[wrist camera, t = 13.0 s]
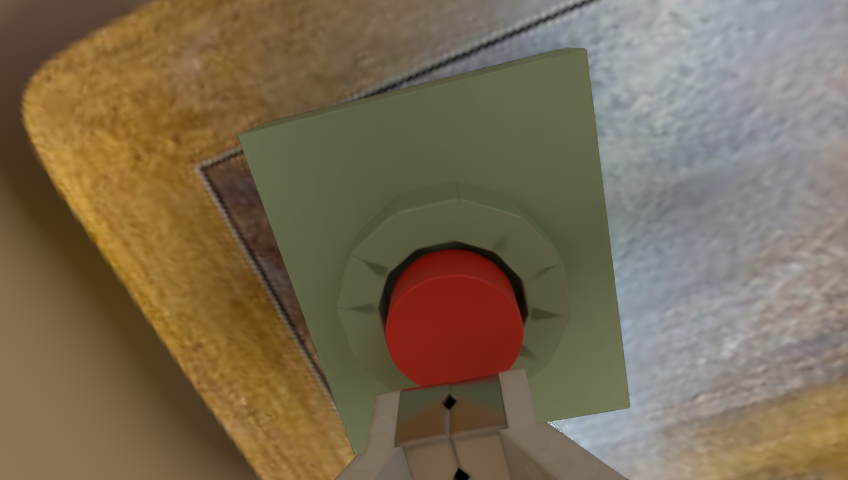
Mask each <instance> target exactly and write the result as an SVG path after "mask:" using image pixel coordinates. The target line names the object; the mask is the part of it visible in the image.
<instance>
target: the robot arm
mask: <svg viewBox="0 0 848 480" xmlns="http://www.w3.org/2000/svg"><path fill="white" fill-rule="evenodd" d="M334 480H628V479H626V478H625V477H623V476H622V475H621V474H619V473H618V472H616V471H615V470H614V469H612V468H611V467H609V466H608V465H606V464H605V463H604V462H602V461H601V460H599V459H598V458H597V457H595V456H594V455H592V454H591V453H589V452H588V451H587V450H585V449H584V448H582V447H581V446H580V445H578V444H577V443H575V442H574V441H573V440H571V439H570V438H568V437H567V436H565V435H564V434H563V433H561V432H560V431H558V430H557V429H556V428H554V427H553V426H551V425H550V424H548V423H547V422H543V423H538V419H537V415H536V411H535V407H534V403H533V399H532V395H531V391H530V388H529V384H528V380H527V376H526V372H525V369H524V368H523V367H520V368H516V369H511V370H506V371H502V372H499V375H498V373H496V374H491V375H486V376H480V377H475V378H470V379H465V380H459V381H454V382H446V383H439V384H433V385H427V386H421V387H414V388H408V389H402V390H397V391H391V392H385V393H380V394H378V395H377V396H376V398H375V401H374V407H373V412H372V418H371V423H370V429H369V434H368V440H367V445H366V451H365V453H361V454H358V455H357V456H356V457H355V458H354V459H353V460H352V461H351V462H350V463H349V464H348V465H347V466H346V468H345V469H344V470H343V471H342V472H341V473H340V474H339V475H338V476H337V477H336V478H335V479H334Z"/></svg>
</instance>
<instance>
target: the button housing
mask: <svg viewBox="0 0 848 480" xmlns="http://www.w3.org/2000/svg"><path fill="white" fill-rule="evenodd" d="M238 139H239V141H240V144H241V147H242V149H243V152H244V155H245V158H246V160H247V163H248V166H249V169H250V171H251V174H252V177H253V179H254V182H255V185H256V188H257V190H258V193H259V196H260V199H261V201H262V204H263V207H264V210H265V212H266V215H267V218H268V220H269V223H270V226H271V229H272V231H273V234H274V237H275V240H276V242H277V245H278V248H279V250H280V253H281V256H282V259H283V261H284V264H285V267H286V270H287V272H288V275H289V278H290V281H291V283H292V286H293V289H294V291H295V294H296V297H297V300H298V302H299V305H300V308H301V311H302V313H303V316H304V319H305V321H306V324H307V327H308V330H309V332H310V335H311V338H312V341H313V343H314V346H315V349H316V352H317V354H318V357H319V360H320V362H321V365H322V368H323V371H324V373H325V376H326V379H327V382H328V384H329V387H330V390H331V392H332V395H333V398H334V401H335V403H336V406H337V409H338V412H339V414H340V417H341V420H342V423H343V425H344V428H345V431H346V433H347V436H348V439H349V442H350V444H351V447H352V450H353V453H354V454H355V455H356V454H361V453H365V451H366V445H367V440H368V434H369V429H370V423H371V418H372V412H373V407H374V401H375V398H376V396H377V395H378V394H380V393H385V392H391V391H397V390H402V389H408V388H414V387H421V386H420V385H418V384H416V383H414V382H413V381H411V380H410V379H409V378H407V377H406V376H405V375H404V374H403V373H402V372H401V371H400V370H399V369H398V367H397V366H396V365H395V363H394V362H393V360H392V358H391V356H390V354H389V351H388V349H387V344H386V338H385V328H386V321H387V316H388V311H389V306H390V301H391V296H392V291H393V288H394V286H395V283H396V281H397V280H398V278H399V276H400V275H401V274H402V272H403V271H404V270H405V269H406V268H407V267H408V266H409V265H410V264H411V263H413V262H414V261H415V260H417V259H419V258H420V257H422V256H424V255H427V254H429V253H432V252H436V251H440V250H447V249H459V250H466V251H471V252H474V253H477V254H480V255H482V256H484V257H486V258H488V259H489V260H491V261H492V262H494V263H495V264H496V265H497V266H498V267H500V268H501V270H502V271H503V272H504V273H505V274H506V276H507V278H508V279H509V281H510V283H511V285H512V287H513V291H514V294H515V298H516V301H517V304H518V308H519V311H520V315H521V318H522V322H523V329H524V336H523V343H522V348H521V351H520V353H519V356H518V357H517V359H516V361H515V363H514V364H513V366H512V367H511V368H510V370H511V369H516V368H520V367H523V368H524V369H525V372H526V376H527V380H528V384H529V388H530V391H531V395H532V399H533V403H534V407H535V411H536V415H537V419H538V423H543V422H550V421H556V420H562V419H567V418H573V417H579V416H585V415H591V414H597V413H603V412H609V411H615V410H620V409H626V408H630V400H629V392H628V384H627V376H626V368H625V359H624V351H623V343H622V335H621V327H620V319H619V311H618V302H617V294H616V286H615V278H614V270H613V262H612V254H611V245H610V237H609V229H608V221H607V213H606V205H605V197H604V188H603V180H602V172H601V164H600V156H599V148H598V140H597V131H596V123H595V115H594V107H593V99H592V91H591V82H590V74H589V66H588V58H587V50H586V49H585V48H562V49H558V50H554V51H550V52H546V53H542V54H538V55H534V56H530V57H526V58H522V59H518V60H514V61H510V62H506V63H502V64H498V65H494V66H490V67H487V68H483V69H479V70H475V71H471V72H467V73H463V74H459V75H455V76H451V77H447V78H443V79H439V80H435V81H431V82H427V83H423V84H419V85H415V86H411V87H407V88H403V89H399V90H395V91H391V92H387V93H383V94H379V95H375V96H371V97H367V98H363V99H359V100H355V101H351V102H347V103H343V104H339V105H335V106H331V107H327V108H323V109H319V110H315V111H311V112H307V113H303V114H299V115H295V116H291V117H287V118H283V119H279V120H275V121H271V122H267V123H263V124H260V125H258V126H256V127H254V128H251V129H249V130H247V131H245V132H243V133H240V134H239V135H238Z"/></svg>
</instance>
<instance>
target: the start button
mask: <svg viewBox="0 0 848 480" xmlns="http://www.w3.org/2000/svg"><path fill="white" fill-rule="evenodd" d="M523 336H524V329H523V322H522V318H521V315H520V311H519V308H518V304H517V301H516V298H515V294H514V291H513V287H512V285H511V283H510V281H509V279H508V278H507V276H506V274H505V273H504V272H503V271H502V270H501V268H500V267H498V266H497V265H496V264H495V263H494V262H492V261H491V260H489V259H488V258H486V257H484V256H482V255H480V254H477V253H474V252H471V251H466V250H459V249H447V250H440V251H436V252H432V253H429V254H427V255H424V256H422V257H420V258H419V259H417V260H415V261H414V262H413V263H411V264H410V265H409V266H408V267H407V268H406V269H405V270H404V271H403V272H402V274H401V275H400V276H399V278H398V280H397V281H396V283H395V286H394V288H393V291H392V296H391V301H390V306H389V311H388V316H387V321H386V328H385V338H386V344H387V349H388V351H389V354H390V356H391V358H392V360H393V362H394V363H395V365H396V366H397V367H398V369H399V370H400V371H401V372H402V373H403V374H404V375H405V376H406V377H407V378H409V379H410V380H411V381H413V382H414V383H416V384H418V385H420V386H427V385H433V384H439V383H446V382H454V381H459V380H465V379H470V378H475V377H480V376H486V375H491V374H496V373H498V375H499V372H502V371H506V370H510V368H511V367H512V366H513V364H514V363H515V361H516V359H517V357H518V356H519V353H520V351H521V348H522V343H523Z"/></svg>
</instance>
